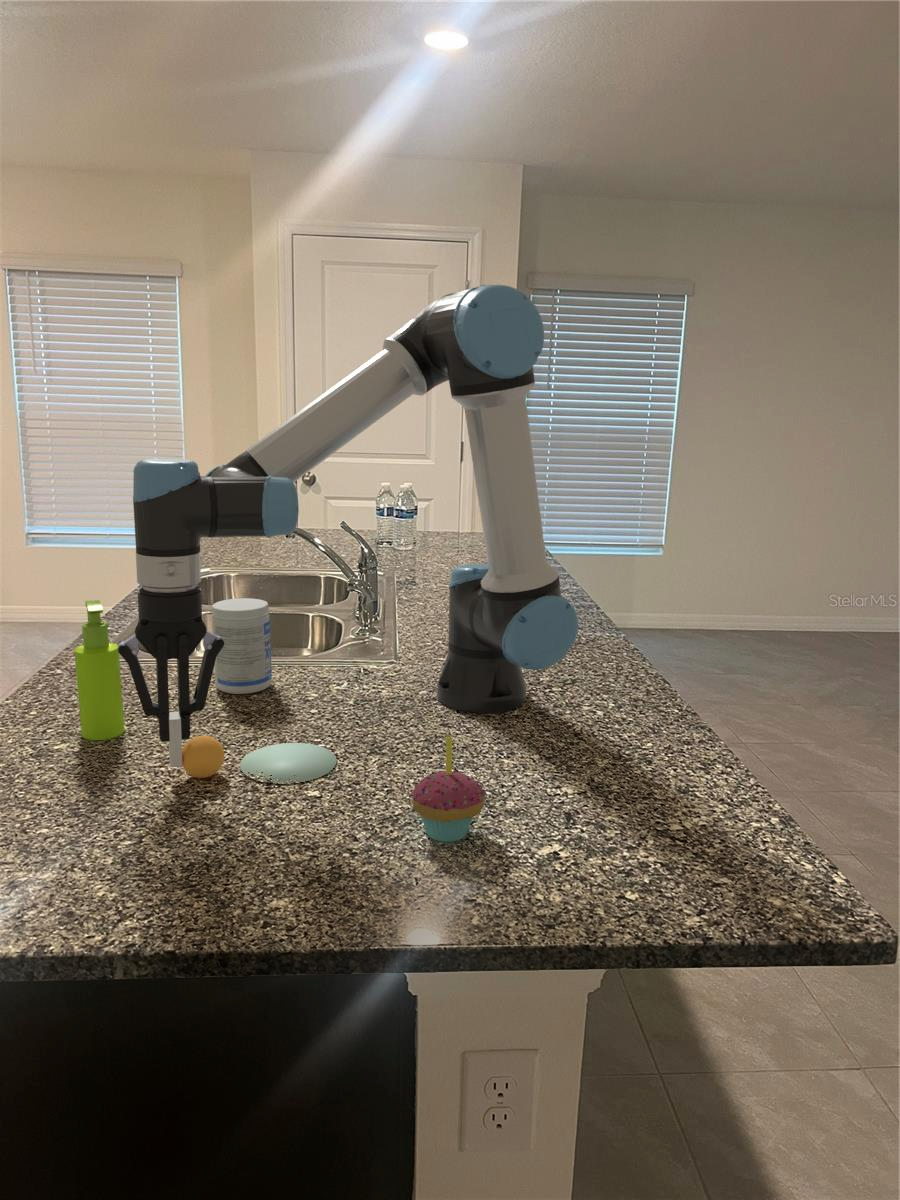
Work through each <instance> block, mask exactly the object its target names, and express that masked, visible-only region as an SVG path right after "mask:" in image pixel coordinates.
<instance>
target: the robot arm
mask: <svg viewBox="0 0 900 1200" xmlns="http://www.w3.org/2000/svg"><path fill="white" fill-rule="evenodd" d="M544 342H545V328H544V322H543V319H542V317H541V315H540V312H539V310H538V308H537V306H536V305H535V304H534V302H533V301H532V300H531V298H529V297H528V296H527V295H526V294H524V292H522V291H521V290H519V289H517V288H515V287H512V286H509V285H505V284H482V285H480V286H479V285H478V286H476V287H472V288H468V289H465V290H461V291H459V292H453V293H449V294H445V295H443V296H441V297H439V298H437V299H435V300H434V301H432V302H430V303H429V304H428V305H427V306H425V308H423V309H422V310H421V311H420V312H418V313H417V314H416V315H415V316H413V317H412V318H411V319H410V320H409V321H408V322H406V323H404V325H402V326H401V327H399V329H397V330H396V331H395V332H394V333H392V334H391V335H389V336H388V337H387V338H385V339H384V341H383V344H382V350H381V351H380V352H379V353H376V355H374V356H373V357H372V358H371V359H368V361H366V362H365V363H363V364H362V365H361V366H359V367H358V368H357V369H355V370H354V371H352V372H351V373H350V374H348V375H347V376H346V377H344V378H342V380H341V381H339V382H337V383H336V384H334V385H333V386H332V387H330V388H329V389H328V390H327V391H325V392H323V394H321V395H320V396H318V397H317V398H316V399H314V400H313V401H311V402H310V403H309V404H307V405H305V407H303V408H302V409H299V411H298V412H296V413H295V414H293V415H292V416H291V417H289V418H288V419H287V420H285V421H284V422H282V423H281V424H280V425H279V426H277V427H276V428H274V429H273V430H272V431H270V432H269V433H268V434H266V435H264V436H263V437H262V438H260V440H259V439H258V441H257V442H255V443H254V444H253V445H251V446H250V447H247V448H246V450H245V451H244V452H242V453H241V454H239V455H238V456H236V457H234V458H233V459H231V460H230V461H229V462H228V463H227V464H221V465H218V466H216V467H213V468H212V469H210V470H209V471H207V473H206V474H205V475H201V472H200V471H199V466H198V463H197V462H196V461H194V460H191V459H190V460H189V459H182V458H181V459H180V458H179V459H177V458H176V459H175V458H148V459H142V460H140V461H138V462H137V463H136V464H135V466H134V468H133V492H132V495H133V496H132V501H133V502H132V503H133V519H134V521H133V522H134V523H133V524H134V534H135V536H134V537H135V565H136V568H135V569H136V583H137V584H139V586H141V587H139V589H138V590H137V607H138V609H137V611H138V621H137V625H136V627H135V629H134V634H132V635H131V636H130V637H128V638H127V639H125V640H124V639H123V640H122V639H121V640H119V641H118V643H117V645H118V652H119V656H121V657H122V658H123V659H124V661H125V662H126V663H127V666H128V668H129V671H130V674H131V677H132V680H133V683H134V685H135V686H134V687H135V690H136V693H137V695H138V700H139V701H140V704H141V707H142V710H143V714H144V715H145V716H146V717H156V718H157V719H158V733H159V739H160V741H161V743H163V742H164V743H166V742H168V760H169V764H170V768H176V767H183V766H182V750H183V746H182V745H183V744H182V743H183V742H182V741H183V740H189V739H190V737H191V715H192V714H194V713H196V712H201V711H203V710H204V708H205V706H206V702H207V697H208V693H209V689H210V686H211V685H210V684H211V681H212V676H213V673H214V670H215V666H214V665H215V660H216V657H217V655H218V654H219V652H220V651H221V649H222V648H223V646H224V641H223V639H222V637H221V636H220V635H219V634H213V632H211V631H209V630H207V626H206V624H205V622H204V620H203V603H202V602H203V599H202V597H203V596H202V595H203V593H202V588H201V587H200V586H199V583H201V582H202V575H201V568H202V567H201V538H208V539H209V538H220V537H221V538H225V537H226V538H231V537H232V538H234V537H235V538H238V537H242V538H244V537H248V538H249V537H253V538H254V537H266V538H272V537H276V536H288V535H291V534H293V533H294V531H295V530H296V528H297V526H298V521H299V512H300V510H299V497H298V496H299V495H298V490H297V487H296V484H295V482H297V481H298V480H300V479H301V478H302V477H304V476H305V475H306V474H307V473H309V472H310V471H312V470H313V469H314V468H316V467H317V466H318V465H319V464H321V463H322V462H324V461H325V460H326V459H328V458H329V457H331V456H332V455H333V454H334V453H336V452H337V451H339V450H340V449H341V448H343V447H344V446H345V445H347V444H348V443H350V441H352V440H353V439H355V438H356V437H357V436H358V435H360V434H361V433H362V432H364V431H365V430H367V429H368V428H369V427H371V426H372V425H374V423H377V422H378V421H379V420H380V419H382V418H383V417H384V416H386V415H388V414H389V413H390V412H391V411H392V410H394V409H395V408H396V407H398V406H399V405H401V403H403V402H404V401H406V400H407V399H408V398H410V397H411V396H413V395H415V396H420V397H421V396H424V395H426V394H427V393H428V392H429V391H431V390H432V389H434V388H436V387H437V386H439V385H441V384H443V383H445V382H449V383H448V384H449V390H450V396H451V399H453V400H454V401H456V402H457V403H458V404H460V406H461V407H463V408H464V413H465V414H464V416H465V422H466V428H467V433H468V434H467V435H468V441H469V449H470V454H471V460H472V467H473V474H474V480H475V485H476V486H475V488H476V494H477V501H478V508H479V513H480V519H481V527H482V532H483V533H482V534H483V539H484V546H485V552H486V553H485V555H486V559H487V563H469V564H461V565H458V566H456V567H454V568H453V569H452V571H451V573H450V578H449V579H450V582H449V585H448V590H449V603H448V604H449V605H448V606H449V607H448V608H449V609H448V610H449V611H448V612H449V613H448V614H449V615H448V652H447V656H446V657H445V658H446V659H445V661H444V664H443V666H442V669H441V673H440V675H439V678H438V681H437V684H436V685H437V687H436V690H437V691H436V697H437V700H439V702H440V703H441V704H443V705H445V706H447V707H449V708H452V709H455V710H459V711H462V712H470V713H477V714H478V713H480V714H482V713H483V714H490V713H493V714H494V713H495V714H496V713H502V712H508V711H512V710H515V709H518V708H520V707H522V706H523V705H524V704H525V703H526V700H527V685H526V681H525V676H524V673H523V669H526V670H531V671H532V670H533V671H538V670H545V669H548V668H551V667H553V666H554V665H556V664H557V663H559V662H560V661H561V660H563V659H564V658H565V657H566V656H567V653H568V652H569V650H570V649H572V647H573V646H574V644H575V642H576V640H577V636H578V632H579V617H578V614H577V612H576V609H575V608H574V606H573V605H572V604H571V603H570V601H569V600H567V599H566V598H564V597H562V590H561V581H560V576H559V575H560V574H559V570H558V569H557V568H555V567H554V566H553V565H551V564H550V563H548V561H547V557H546V556H547V555H546V548H545V541H544V540H545V539H544V531H543V524H542V523H543V522H542V517H541V508H540V501H539V491H538V486H537V479H536V476H537V475H536V471H535V470H536V469H535V462H534V455H533V446H532V438H531V437H532V436H531V431H530V423H529V415H528V407H527V396H528V395H529V393H530V392H531V390H532V389H533V387H534V386H535V384H536V379H535V372H534V371H535V370H534V365H535V364H536V363H537V361H538V359H539V355H541V354H542V351H543V348H544V345H545V344H544ZM202 640H203V643H202V644H203V645H202V646H203V647H204V651H203V654H202V659H201V663H200V669H199V673H198V676H197V682H196V685H195V689H194V693H193V697H192V699H191V697H190V695H191V694H190V669H189V668H190V656H192V654H193V652H194V651H195V650H196V648H197V647H198V645H200V643H201V642H202ZM140 644H141V645H142V646H143V648H145V650H146V651H147V652H148V653H149V654H150V655H151V656H152V657H153V658H154V659H155V667H156V668H155V669H156V690H157V691H156V692H157V693H156V694H157V703H156V702H153V700H152V698H151V693H150V691H149V688H148V685H147V684H148V683H147V681H146V679H145V675H144V672H143V670H142V669H143V668H142V666H141V663H140V661H139V660H140V659H139V657H138V655H139V653H140V648H139V645H140ZM171 659H175V660H176V667H177V668H176V671H177V673H176V674H177V698H178V699H177V701H178V702H177V706H178V711H171V712H170V699H169V698H170V696H169V694H170V692H169V672H168V671H169V669H168V668H169V661H168V660H171ZM522 668H523V669H522Z"/></svg>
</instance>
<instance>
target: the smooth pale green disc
mask: <svg viewBox="0 0 900 1200" xmlns="http://www.w3.org/2000/svg"><path fill="white" fill-rule="evenodd" d="M336 757H337V756H336V755H335V753H333V752H332V751H331V750H329V749H328V748H326V747H323V746H320V745H316V744H312V743H303V742H285V743H277V744H271V745H267V746H263V747H260V748H257V749H255V750H253V751H251V752H249V753H247V754H245V756H244V757H243V758H242V759H241V761H240V765H239V770H240V772H241V771H242V772H243V773H244V774H245V775H246V774H247V775H248V776H249V774H248V772H250V773H252V774H254V775H255V778H257V779H258V777H257V776H259V777H260V775H259V774H258V772H259V773H260V774H261V775H262V773H261V772H263V774H264V776H265V778H266V779H268V780H270V779H269V778H268V777H270V778H271V779H272V782H273V783H276V782H275V781H277V782H279V781H278V780H280V781H282V782H283V783H288V782H290V783H292V782H291V781H290V780H292V781H294V782H296V781H295V780H294V779H296V780H297V782H300V781H301V782H304V783H306V782H305V781H308V780H312V781H314V780H313V779H315V778H318V779H320V778H319V777H321V776H323V775H325V774H327V773H328V772H330V771H331V770H332V771H333V770H334V769H333V768H335V767H336V766H335V765H337V758H336ZM256 770H257V771H258V772H257V771H256ZM260 771H261V772H260ZM332 771H331V772H332ZM242 772H241V773H242ZM331 772H330V773H331ZM243 773H242V774H243ZM244 774H243V775H244ZM270 774H271V775H272V777H271V776H270ZM328 774H329V773H328ZM328 774H327V775H328ZM245 775H244V776H245ZM256 775H257V776H256ZM294 775H295V776H297V777H298V778H296V777H295V776H294ZM262 776H263V775H262ZM264 776H263V777H264ZM325 776H326V775H325ZM249 777H250V776H249ZM323 777H324V776H323ZM255 778H252V779H255ZM260 778H261V777H260ZM265 778H264V780H265V781H266V782H268V781H267V780H266V779H265ZM280 778H281V779H280ZM293 778H294V779H293ZM321 778H322V777H321ZM252 779H251V780H252ZM261 779H262V778H261ZM277 779H278V780H277ZM289 779H290V780H289ZM258 780H259V779H258ZM274 780H275V781H274ZM270 781H271V780H270ZM287 781H288V782H287ZM279 783H280V782H279Z"/></svg>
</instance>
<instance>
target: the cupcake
mask: <svg viewBox="0 0 900 1200" xmlns="http://www.w3.org/2000/svg"><path fill="white" fill-rule="evenodd" d="M447 735H448V736H446V739H445V742H446V744H445V745H446V746H445V747H446V749H445V751H446V753H445V763H446V764H445V770H444V771H439V772H435V773H432V774H428V775H426V777H424V778H422V779H421V780H419V781H418V782H417V783H416V784H415V786H414V788H413V789H412V795H411V796H412V797H411V801H412V808H413V809H414V811H415V812H416V813H418V815H419V816H420V818H421V819H422V822H423V825H424V829H425V832H426V835H427V836H428V837H429V838H431V839H432V840H433V841H437V842H441V843H442V842H443V843H453V842H458V841H460V840H462V839H464V838H465V837H466V836H467V834H468V831H469V828H470V825H471V823H472V821H473V818H474V817H476V816H478V815H479V814H480V813H481V812H482V810H483V808H484V806H485V803H486V791H485V790H483V787H482V786H481V785H480V783H479V781H476V780H475V779H474V777H470V775H467V774H465V773H461V772H455V771H452V770H453V769H452V767H453V766H452V765H453V764H452V761H453V759H452V758H453V757H452V755H453V737H452V736H451V729H448V733H447Z"/></svg>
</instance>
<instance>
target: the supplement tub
mask: <svg viewBox="0 0 900 1200" xmlns="http://www.w3.org/2000/svg"><path fill="white" fill-rule="evenodd" d="M211 609H212V611H211V629H212V633H213V634H219V635H220V636H221V637H222V639H223V641H224V646H223V648H222V649H221V651H220V652H219V654H218V655H217V657H216V660H215V665H214V679H215V681H214V683H215V686H216V688H217V689H218V690H219V691H221V692H224V693H226V694H232V695H233V694H234V695H247V694H254V693H258V692H262V691H264V690H265V689H268V688H269V687H270V686H271V685H272V682H273V673H272V672H273V671H272V669H273V667H272V646H271V644H272V643H271V641H272V640H271V619H270V618H271V617H270V610H269V603H268V601H266V600H263V599H258V598H250V597H249V598H248V597H247V598H246V597H245V598H244V597H243V598H230V599H229V598H228V599H223V600H220V601H216V602H215V603H213V604H212V608H211Z"/></svg>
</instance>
